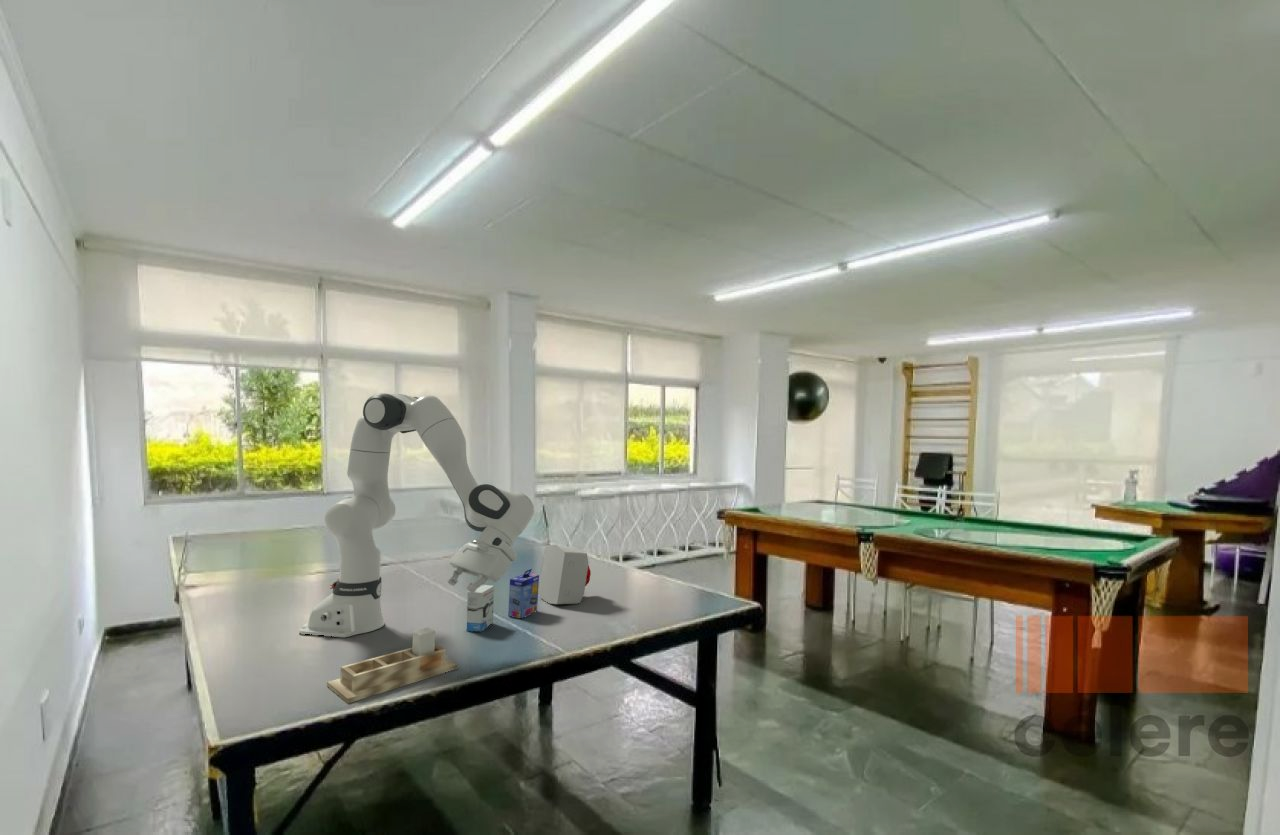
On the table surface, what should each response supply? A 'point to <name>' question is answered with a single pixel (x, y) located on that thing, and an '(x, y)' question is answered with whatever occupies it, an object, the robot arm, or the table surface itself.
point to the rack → (388, 673)
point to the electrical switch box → (563, 575)
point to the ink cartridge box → (523, 594)
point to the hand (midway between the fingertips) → (459, 587)
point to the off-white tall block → (423, 641)
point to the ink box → (480, 608)
